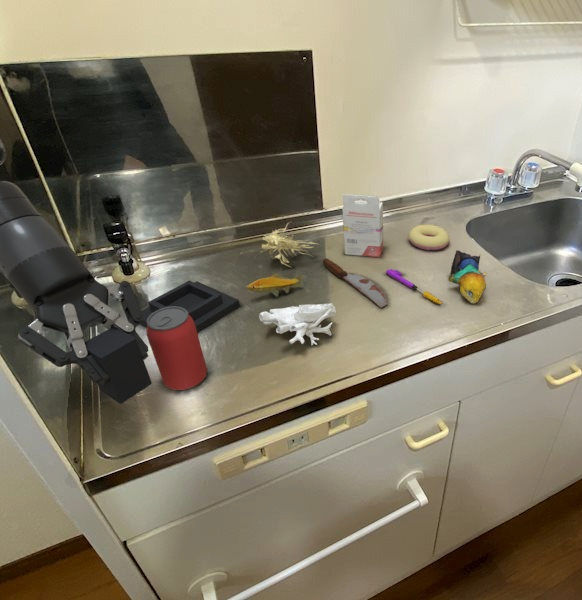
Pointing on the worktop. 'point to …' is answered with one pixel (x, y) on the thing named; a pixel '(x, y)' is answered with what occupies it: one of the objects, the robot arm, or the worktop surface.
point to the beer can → (176, 348)
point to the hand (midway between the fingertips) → (125, 369)
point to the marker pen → (410, 284)
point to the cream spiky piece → (282, 244)
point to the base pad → (194, 303)
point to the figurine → (468, 276)
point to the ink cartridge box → (362, 225)
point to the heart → (300, 320)
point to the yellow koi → (276, 284)
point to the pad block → (119, 364)
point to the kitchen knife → (359, 283)
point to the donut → (429, 237)
